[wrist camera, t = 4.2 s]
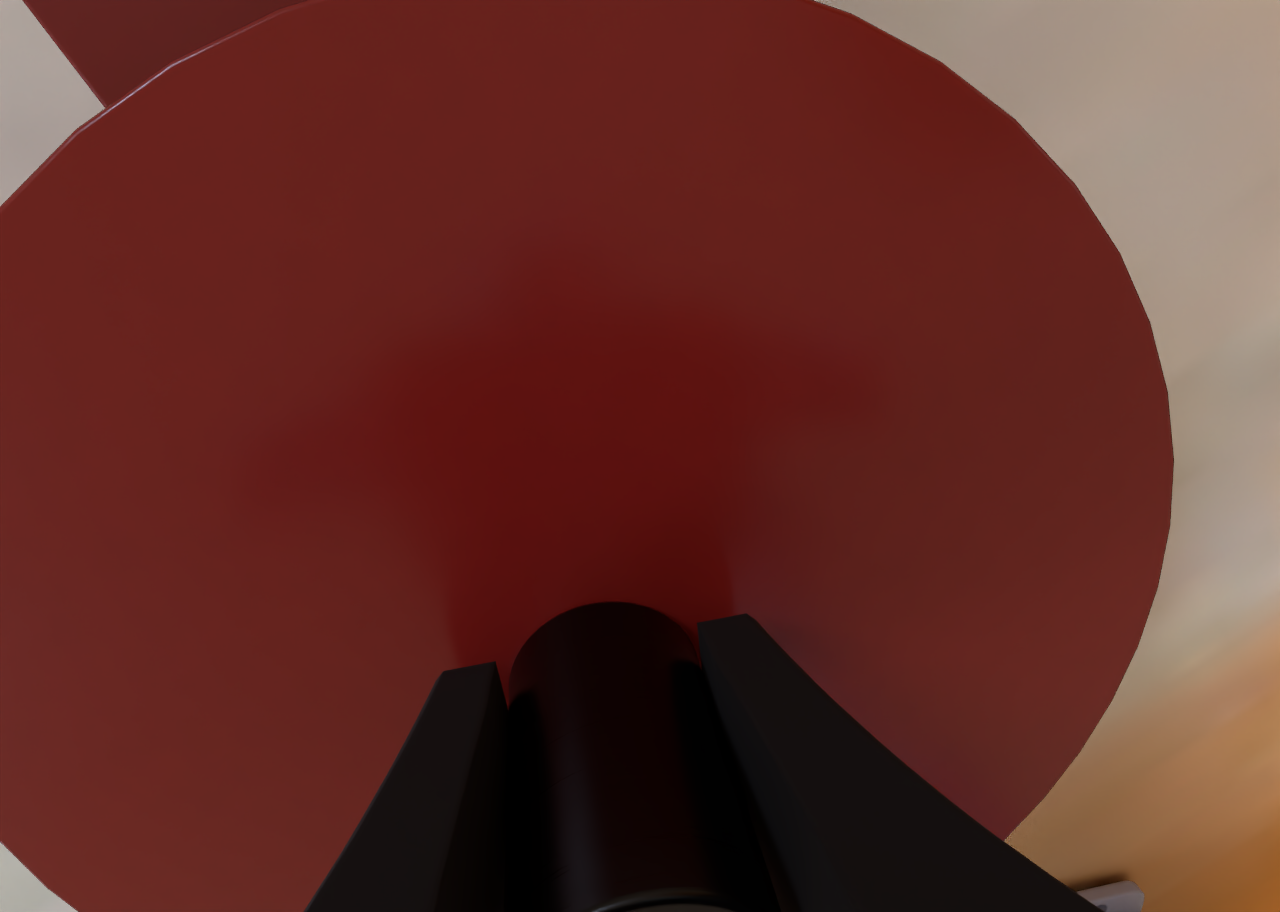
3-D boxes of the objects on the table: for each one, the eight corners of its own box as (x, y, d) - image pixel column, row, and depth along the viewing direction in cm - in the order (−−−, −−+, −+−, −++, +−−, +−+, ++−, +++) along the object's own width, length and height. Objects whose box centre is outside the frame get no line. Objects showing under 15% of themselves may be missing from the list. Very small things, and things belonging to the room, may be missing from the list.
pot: (695, -362, 9) (849, -786, 5) (1031, 661, 18) (1198, 838, 14) (-203, 186, 10) (-734, 231, 6) (517, 910, 19) (517, 1150, 15)
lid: (952, -368, 6) (1864, -1405, 2) (1180, 727, 13) (1515, 1034, 9) (-416, 445, 8) (-1729, 897, 3) (433, 1078, 14) (394, 1511, 10)
